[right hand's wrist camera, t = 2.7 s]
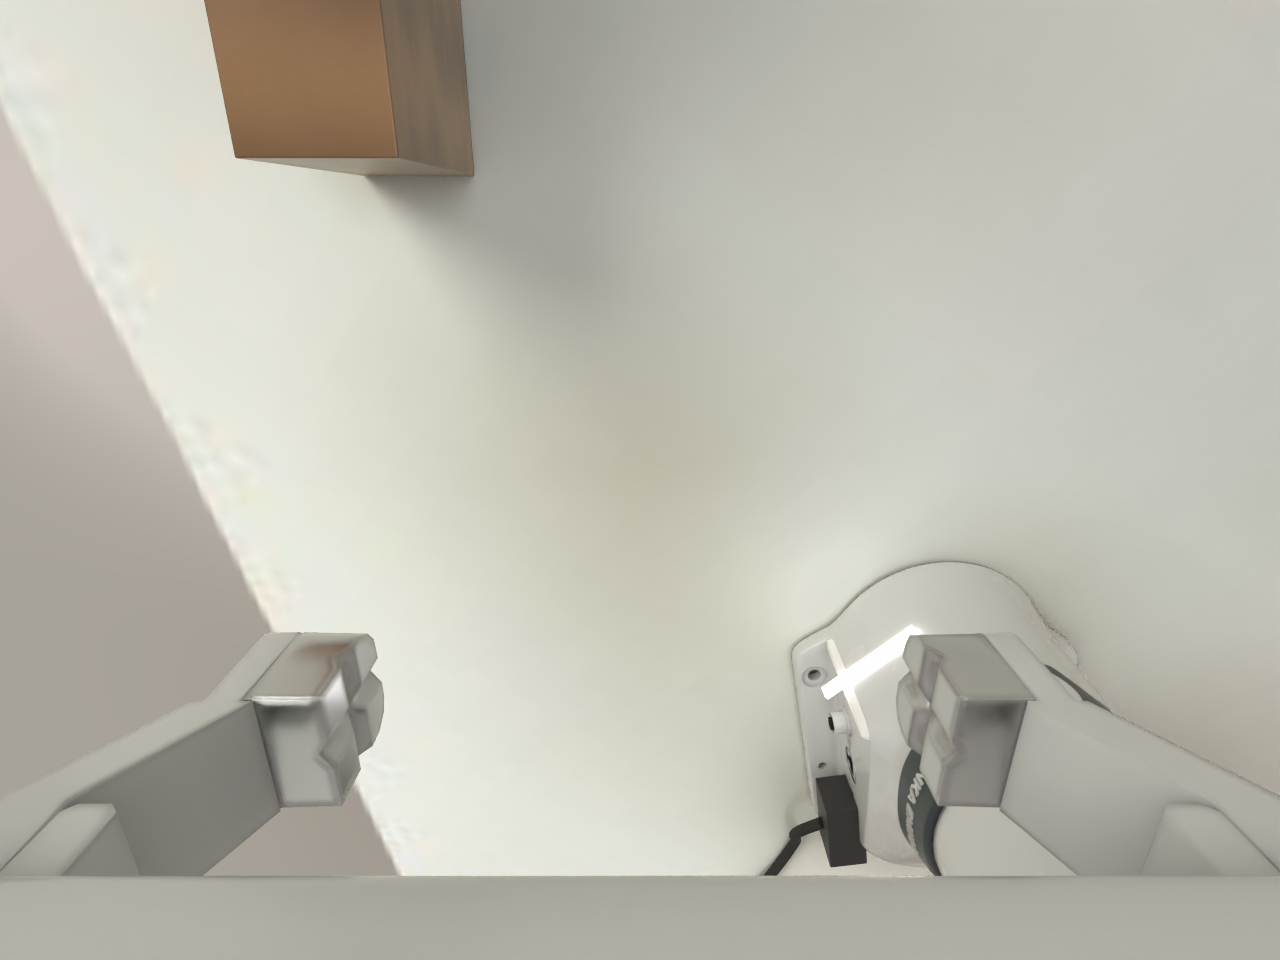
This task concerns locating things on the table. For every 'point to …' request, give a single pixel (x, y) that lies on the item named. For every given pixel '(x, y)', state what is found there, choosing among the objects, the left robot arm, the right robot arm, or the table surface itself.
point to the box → (345, 84)
